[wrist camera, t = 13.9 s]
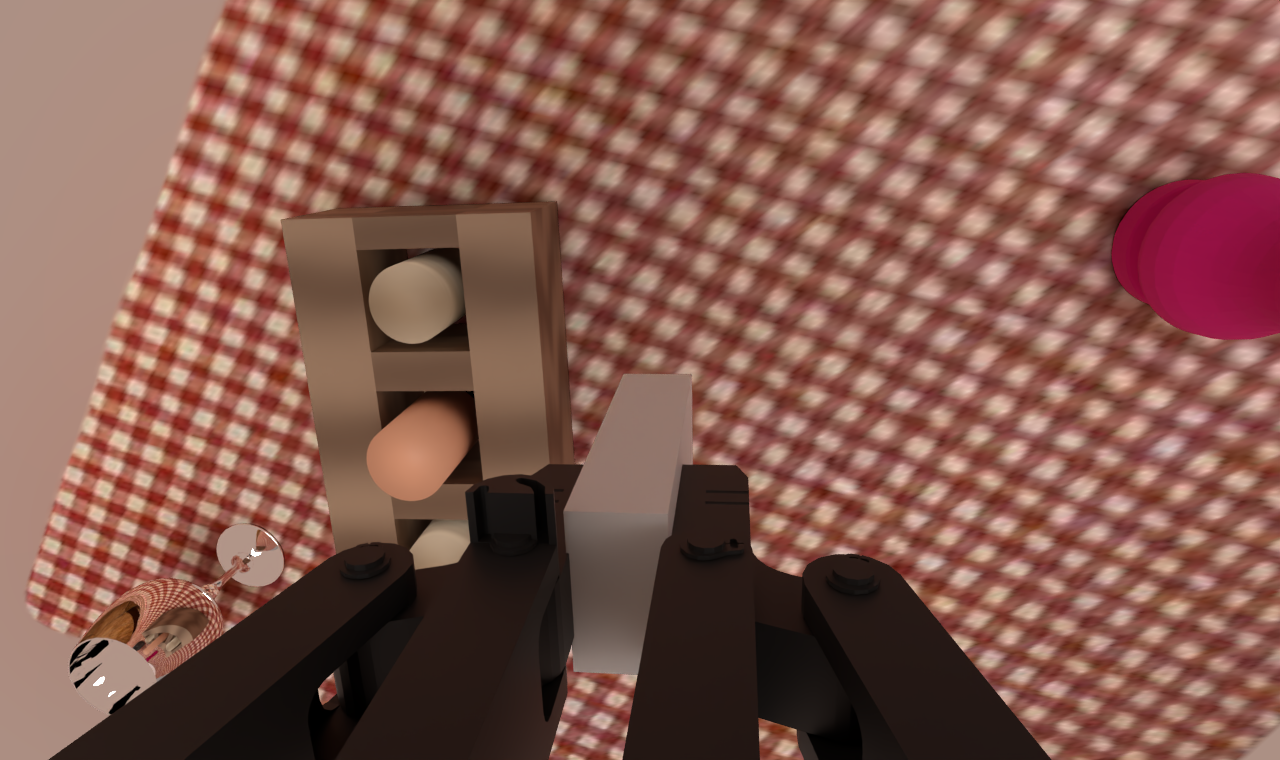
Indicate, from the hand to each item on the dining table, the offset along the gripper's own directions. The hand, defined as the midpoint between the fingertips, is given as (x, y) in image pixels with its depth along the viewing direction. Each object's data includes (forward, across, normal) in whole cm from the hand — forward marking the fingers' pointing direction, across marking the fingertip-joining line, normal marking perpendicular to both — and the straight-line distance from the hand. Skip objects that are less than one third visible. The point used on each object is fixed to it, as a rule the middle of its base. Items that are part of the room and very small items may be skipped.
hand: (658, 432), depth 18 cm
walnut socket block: (+26, -14, -8) cm, 30 cm away
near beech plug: (+25, -14, -1) cm, 28 cm away
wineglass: (+25, -29, -19) cm, 43 cm away
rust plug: (+22, -14, -8) cm, 27 cm away
